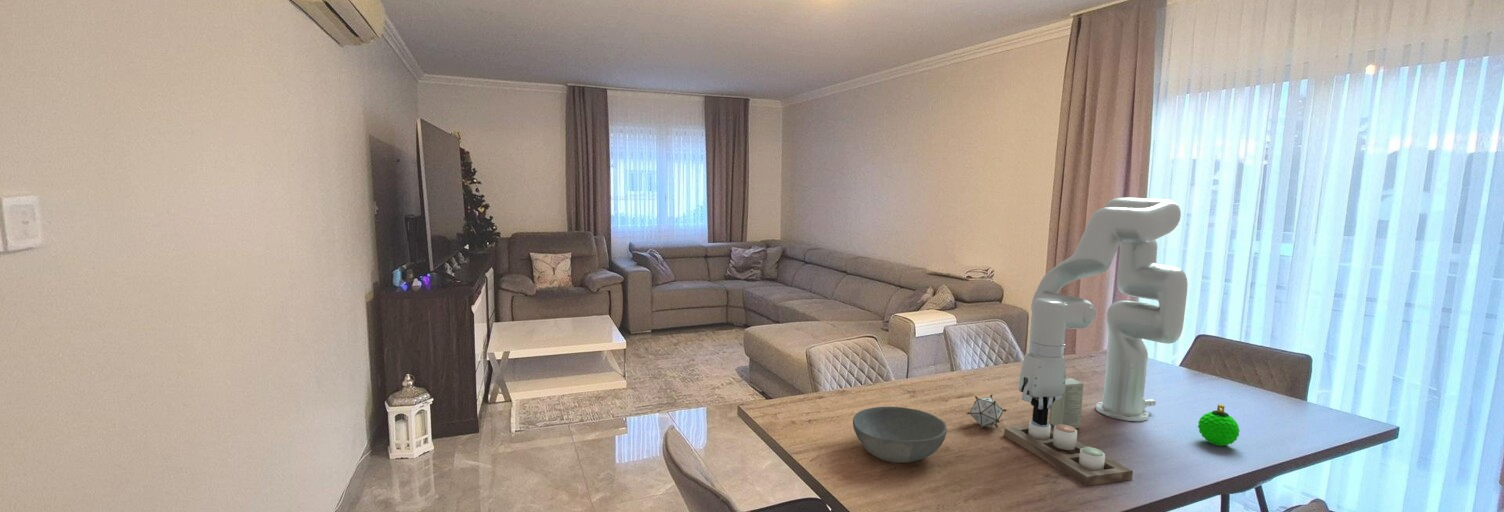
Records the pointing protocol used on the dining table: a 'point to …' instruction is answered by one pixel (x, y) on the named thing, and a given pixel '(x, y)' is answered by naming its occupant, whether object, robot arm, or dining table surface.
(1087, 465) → the white round cylinder
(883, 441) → the bowl
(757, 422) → the dining table surface
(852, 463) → the dining table surface
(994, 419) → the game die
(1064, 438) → the small jar
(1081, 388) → the skincare box
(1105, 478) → the rack with square compartments
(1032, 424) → the small jar
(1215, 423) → the ornament
